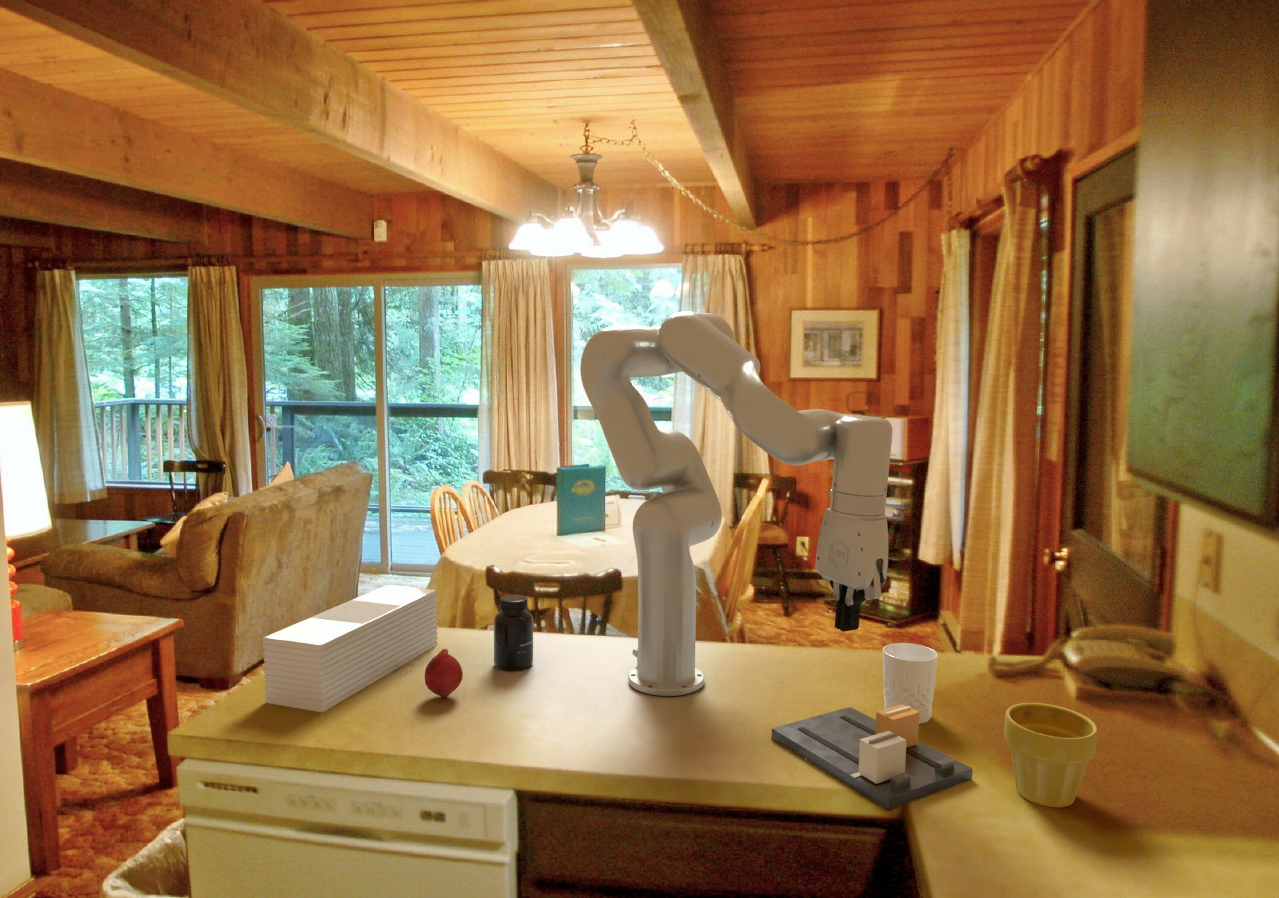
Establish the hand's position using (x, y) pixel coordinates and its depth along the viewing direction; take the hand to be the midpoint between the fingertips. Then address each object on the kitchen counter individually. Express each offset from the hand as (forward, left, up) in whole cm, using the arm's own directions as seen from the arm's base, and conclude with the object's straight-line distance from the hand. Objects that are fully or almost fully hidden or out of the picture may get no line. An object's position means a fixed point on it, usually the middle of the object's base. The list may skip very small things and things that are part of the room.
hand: (846, 628), depth 122 cm
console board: (+8, -4, -15) cm, 18 cm away
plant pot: (+26, +9, -15) cm, 32 cm away
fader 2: (+15, -8, -14) cm, 21 cm away
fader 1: (+10, 0, -14) cm, 17 cm away
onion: (-40, -47, -15) cm, 63 cm away
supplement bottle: (-48, -32, -15) cm, 60 cm away
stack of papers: (-58, -56, -16) cm, 82 cm away
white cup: (+1, +12, -15) cm, 20 cm away
